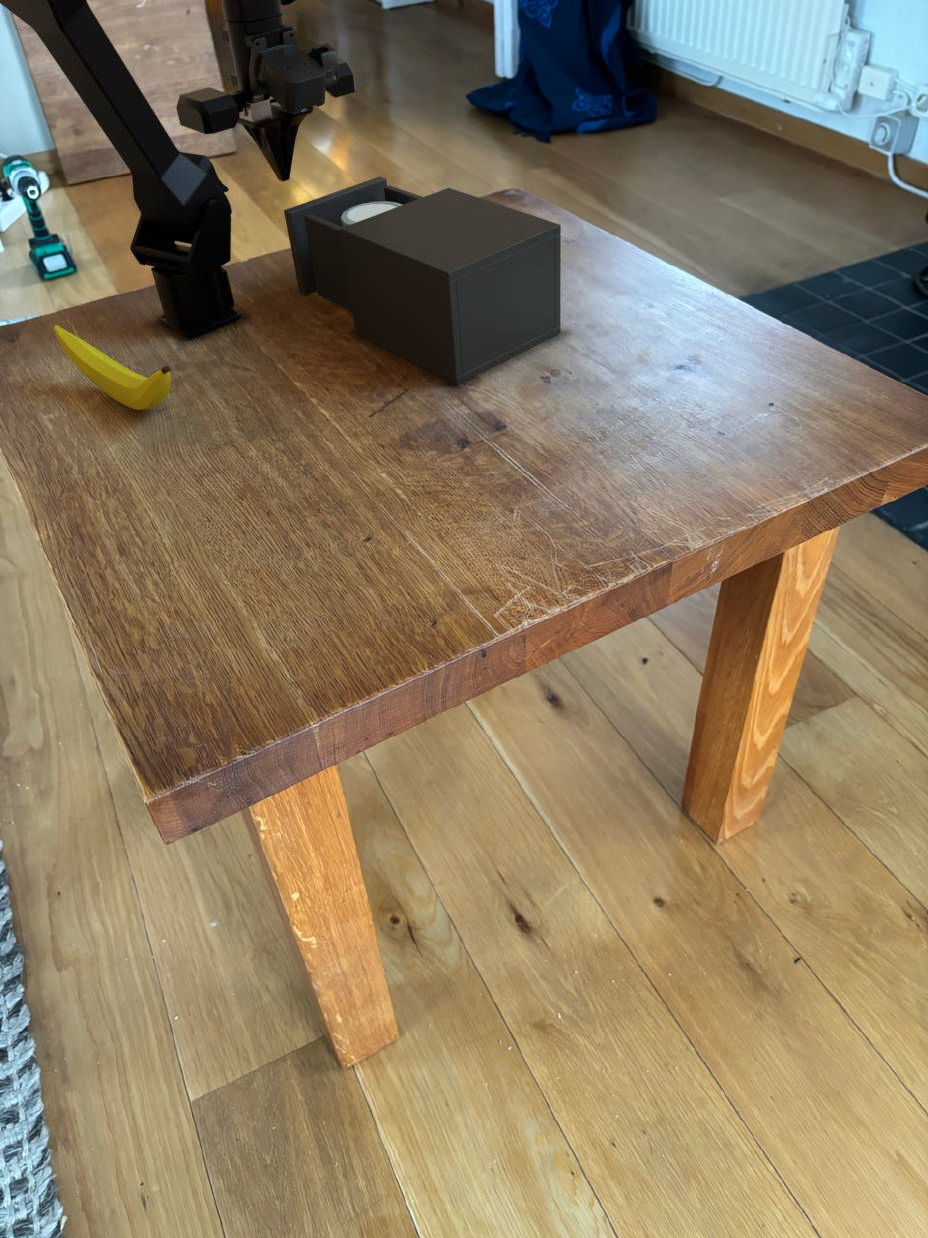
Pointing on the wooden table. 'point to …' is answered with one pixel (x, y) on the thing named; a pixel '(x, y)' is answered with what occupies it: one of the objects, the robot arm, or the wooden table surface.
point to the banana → (115, 374)
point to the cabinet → (454, 282)
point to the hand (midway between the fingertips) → (284, 179)
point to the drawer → (331, 237)
